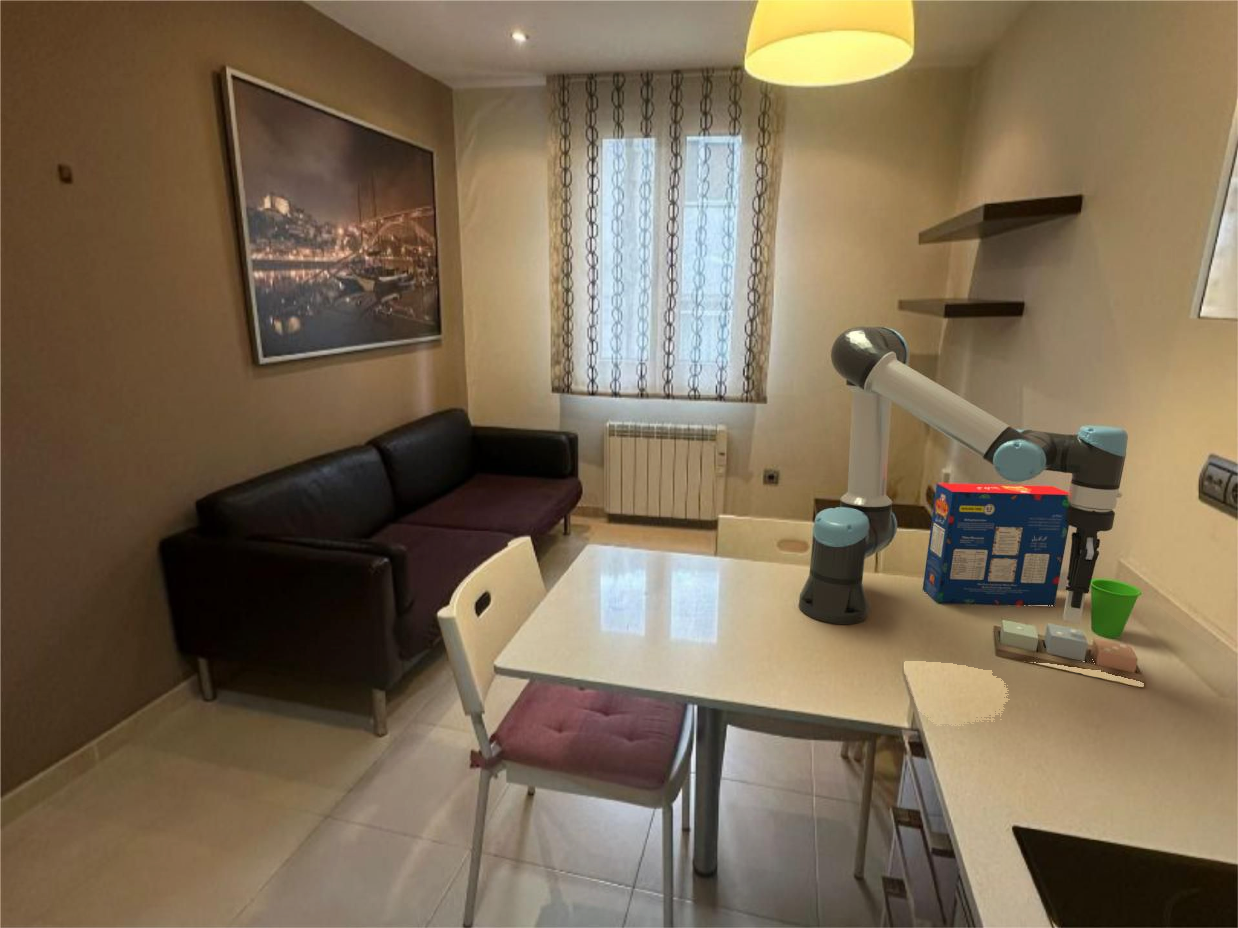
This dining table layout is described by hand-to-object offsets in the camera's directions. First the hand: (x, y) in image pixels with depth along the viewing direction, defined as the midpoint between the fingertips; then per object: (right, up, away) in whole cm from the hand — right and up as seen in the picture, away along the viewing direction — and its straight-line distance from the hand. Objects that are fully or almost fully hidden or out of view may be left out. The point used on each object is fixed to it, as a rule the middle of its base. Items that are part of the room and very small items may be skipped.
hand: (1071, 620), depth 128 cm
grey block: (0, -7, +2) cm, 7 cm away
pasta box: (0, -2, +30) cm, 30 cm away
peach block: (+7, -9, -2) cm, 11 cm away
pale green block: (-7, -7, +6) cm, 12 cm away
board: (0, -8, +2) cm, 8 cm away
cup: (+17, -6, +13) cm, 22 cm away
